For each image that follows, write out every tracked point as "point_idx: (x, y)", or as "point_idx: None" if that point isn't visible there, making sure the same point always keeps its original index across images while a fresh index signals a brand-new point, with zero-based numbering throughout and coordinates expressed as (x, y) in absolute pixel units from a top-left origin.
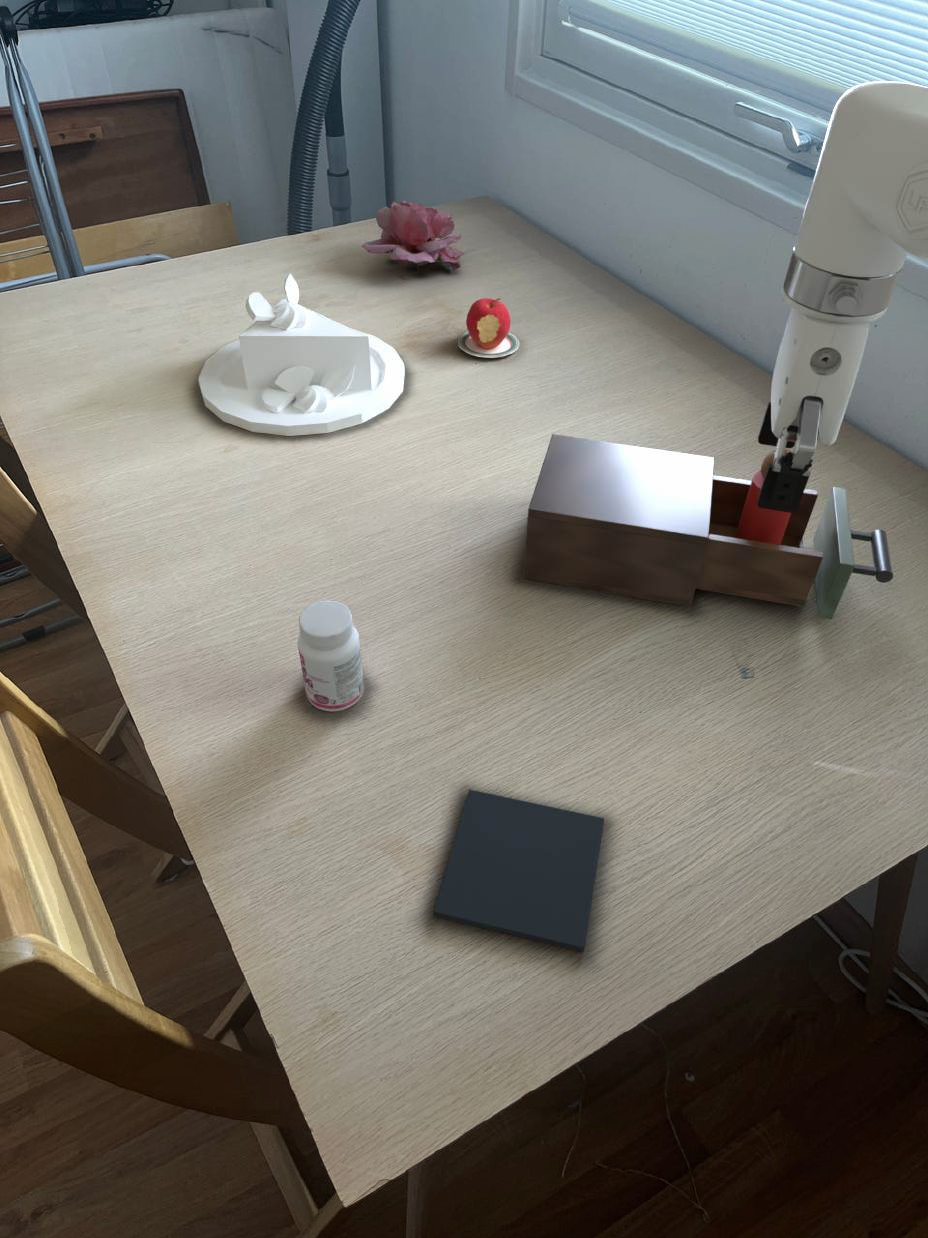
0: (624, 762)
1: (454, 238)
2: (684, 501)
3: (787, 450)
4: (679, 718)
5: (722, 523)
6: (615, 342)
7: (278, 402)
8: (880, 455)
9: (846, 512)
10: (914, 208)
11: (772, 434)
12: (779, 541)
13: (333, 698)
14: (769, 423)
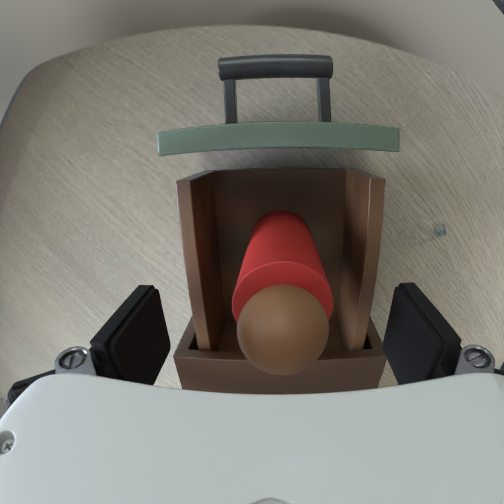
0: (501, 311)
1: None
2: (306, 388)
3: (268, 354)
4: (479, 283)
5: (221, 281)
6: (5, 345)
7: None
8: (22, 105)
9: (237, 127)
10: None
11: (157, 346)
12: (301, 228)
13: None
14: (152, 375)
